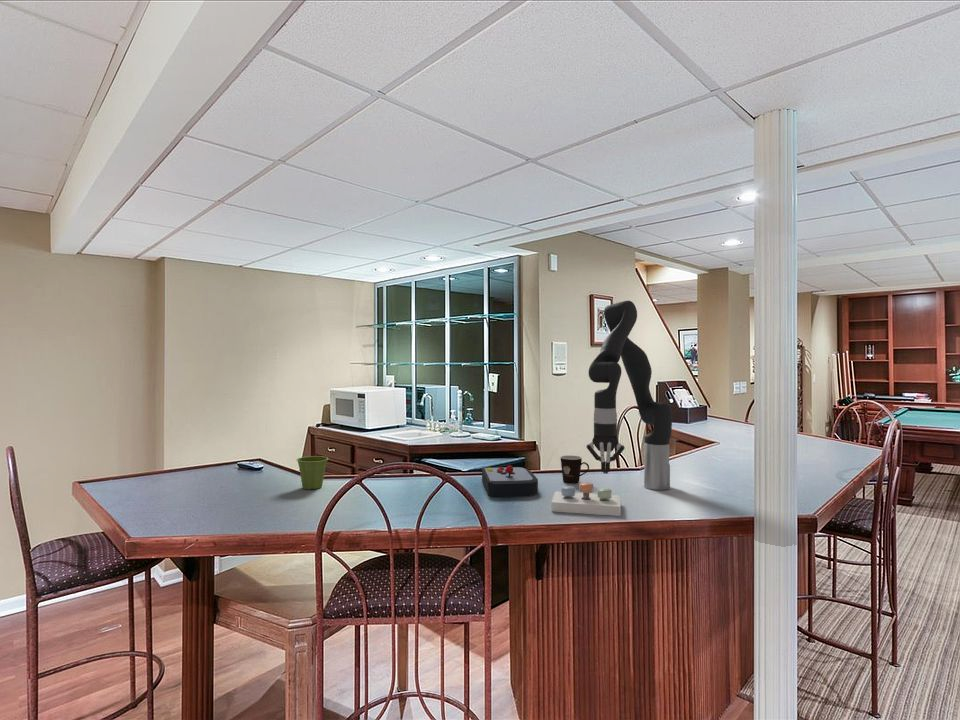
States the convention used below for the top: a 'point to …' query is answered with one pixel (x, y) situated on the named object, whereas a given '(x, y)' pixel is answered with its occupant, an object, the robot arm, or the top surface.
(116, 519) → the top surface
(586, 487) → the terracotta button
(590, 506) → the console
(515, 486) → the arcade joystick
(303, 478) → the plant pot
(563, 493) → the slate button
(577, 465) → the coffee mug
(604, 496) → the sage button
